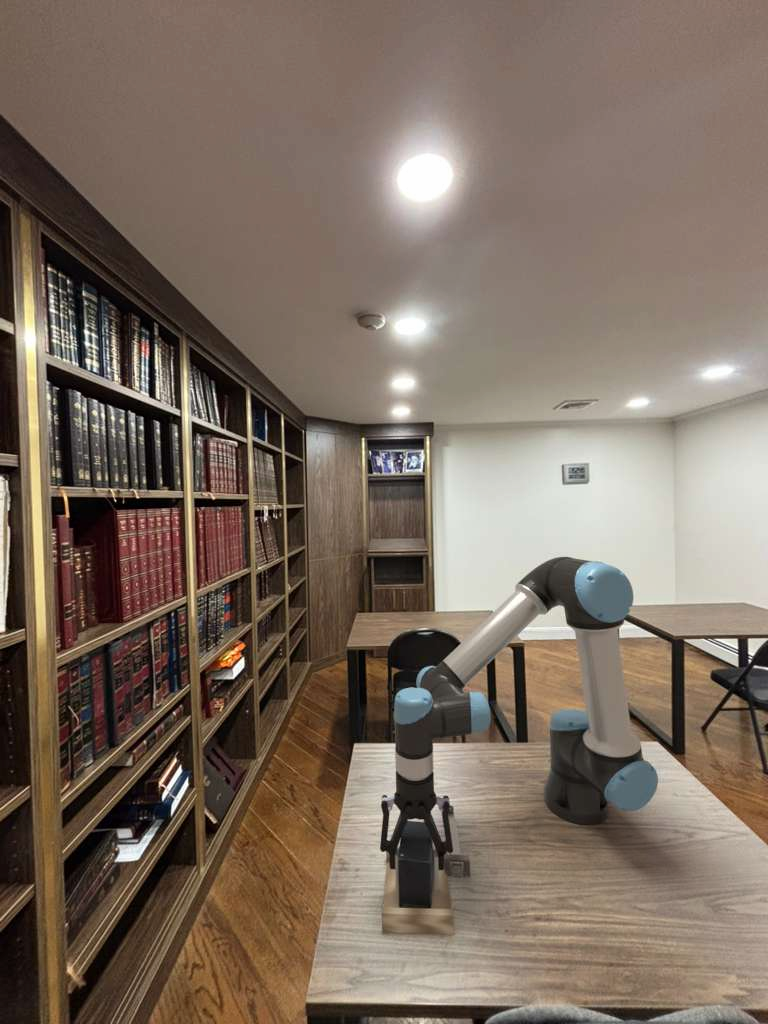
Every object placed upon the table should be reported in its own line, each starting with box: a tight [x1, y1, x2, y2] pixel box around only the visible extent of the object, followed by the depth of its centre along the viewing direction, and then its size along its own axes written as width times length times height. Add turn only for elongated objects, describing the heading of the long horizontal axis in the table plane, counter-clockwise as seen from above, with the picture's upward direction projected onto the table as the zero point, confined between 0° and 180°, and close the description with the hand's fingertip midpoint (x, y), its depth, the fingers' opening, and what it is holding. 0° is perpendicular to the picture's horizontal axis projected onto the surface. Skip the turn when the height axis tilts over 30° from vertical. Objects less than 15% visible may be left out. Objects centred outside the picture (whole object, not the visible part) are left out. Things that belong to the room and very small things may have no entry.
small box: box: [398, 820, 434, 909], centre depth 88 cm, size 11×6×10 cm, turn 171°
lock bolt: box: [448, 804, 464, 878], centre depth 100 cm, size 2×18×3 cm, turn 177°
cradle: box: [381, 843, 471, 935], centre depth 88 cm, size 18×16×4 cm
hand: (417, 883), depth 88 cm, fingers open, 7 cm apart
